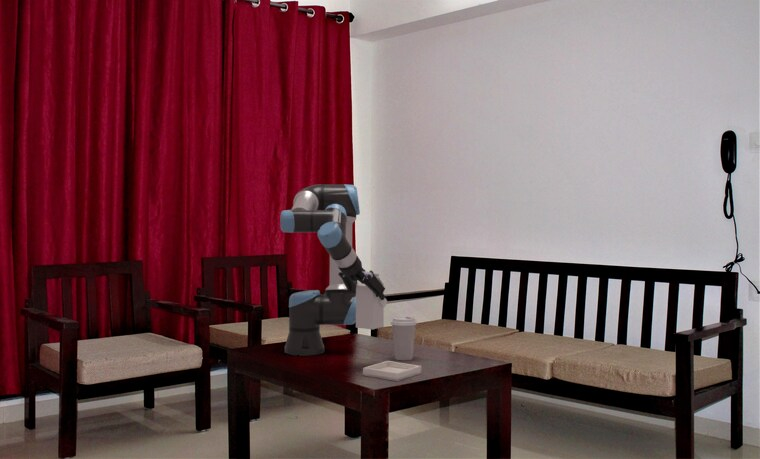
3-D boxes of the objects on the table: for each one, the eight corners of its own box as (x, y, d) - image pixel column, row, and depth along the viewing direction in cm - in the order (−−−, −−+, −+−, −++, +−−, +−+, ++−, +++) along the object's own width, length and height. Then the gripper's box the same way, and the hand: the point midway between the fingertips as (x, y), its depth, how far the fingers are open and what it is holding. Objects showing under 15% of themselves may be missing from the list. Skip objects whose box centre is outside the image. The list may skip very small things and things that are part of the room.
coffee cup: (414, 361, 267) (414, 320, 266) (388, 360, 269) (388, 319, 268) (418, 356, 276) (418, 316, 276) (393, 355, 278) (393, 315, 278)
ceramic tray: (362, 375, 246) (362, 367, 246) (387, 367, 257) (387, 360, 257) (397, 381, 238) (397, 373, 238) (421, 373, 249) (421, 365, 249)
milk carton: (372, 330, 255) (372, 274, 254) (355, 328, 259) (355, 273, 258) (383, 327, 261) (383, 273, 260) (366, 325, 265) (366, 272, 264)
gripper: (318, 267, 253) (348, 309, 266) (366, 270, 241) (395, 314, 254) (328, 251, 257) (357, 293, 270) (376, 253, 245) (403, 297, 258)
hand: (375, 303), depth 262 cm, fingers closed on milk carton, 7 cm apart
